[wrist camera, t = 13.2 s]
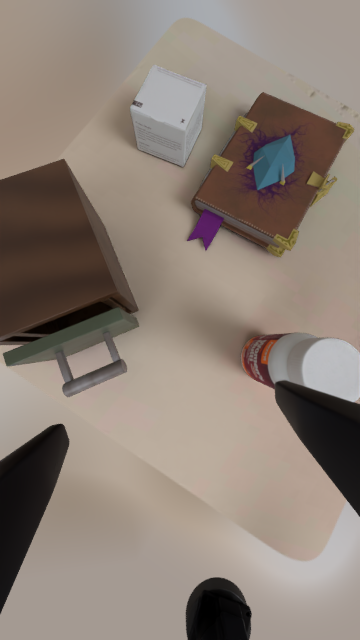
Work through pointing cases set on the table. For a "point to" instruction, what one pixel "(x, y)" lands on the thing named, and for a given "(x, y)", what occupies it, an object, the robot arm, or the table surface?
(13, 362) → the drawer
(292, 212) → the book
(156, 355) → the table surface
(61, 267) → the cabinet
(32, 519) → the robot arm
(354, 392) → the pill bottle
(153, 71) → the small box
